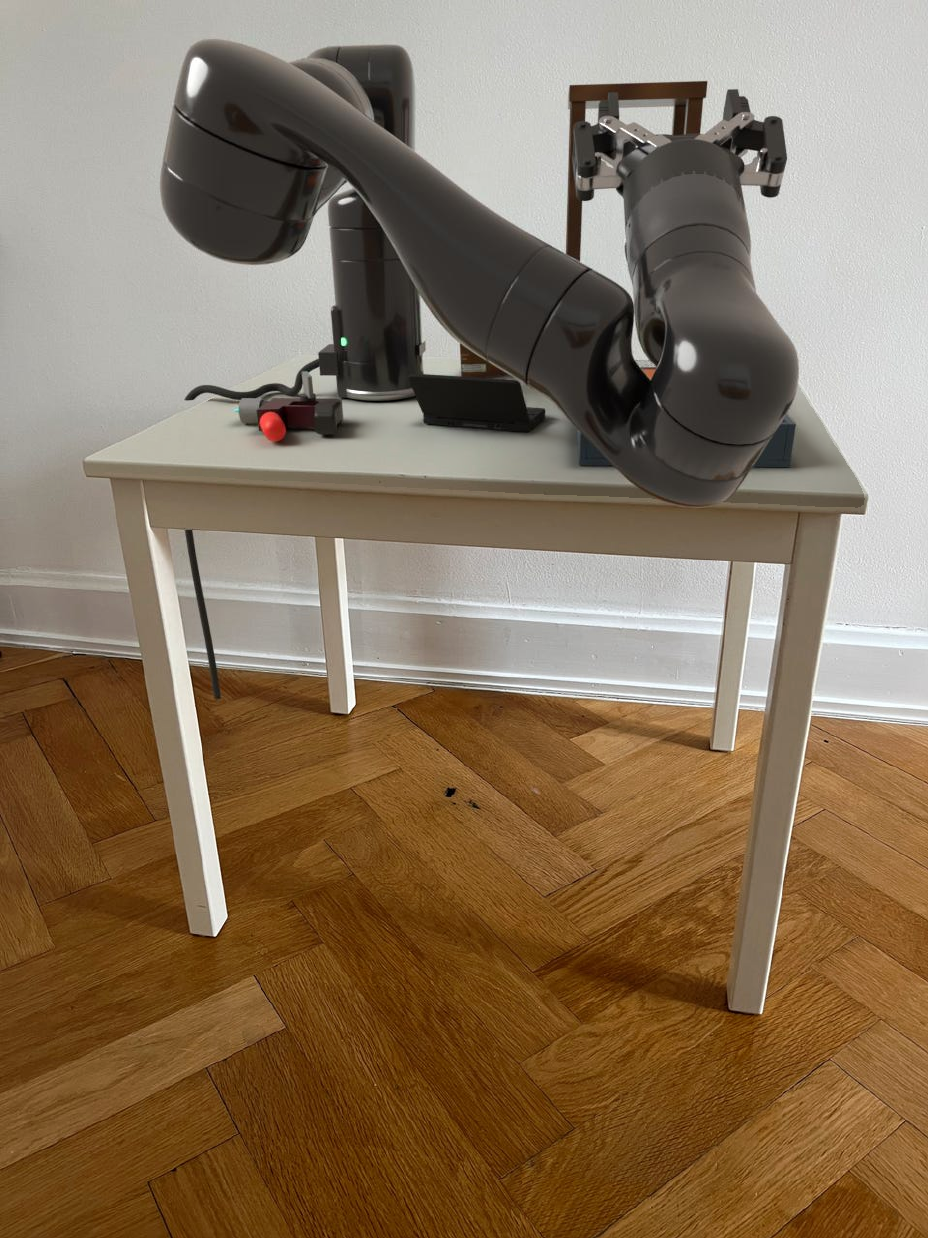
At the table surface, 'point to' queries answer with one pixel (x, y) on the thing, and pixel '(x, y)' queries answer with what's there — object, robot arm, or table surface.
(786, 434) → the tray
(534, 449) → the table surface
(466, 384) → the handheld gaming console
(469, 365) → the food container
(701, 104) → the brown frame
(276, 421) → the toy gun
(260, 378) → the table surface
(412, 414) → the table surface
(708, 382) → the robot arm
